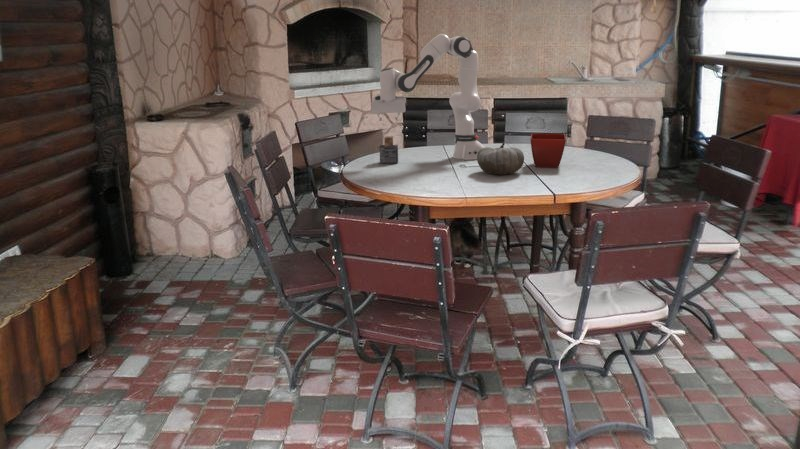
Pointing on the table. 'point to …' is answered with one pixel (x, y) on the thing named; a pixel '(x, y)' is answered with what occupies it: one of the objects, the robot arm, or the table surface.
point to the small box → (388, 154)
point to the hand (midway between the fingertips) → (388, 120)
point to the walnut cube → (388, 140)
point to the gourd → (500, 160)
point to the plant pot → (547, 149)
